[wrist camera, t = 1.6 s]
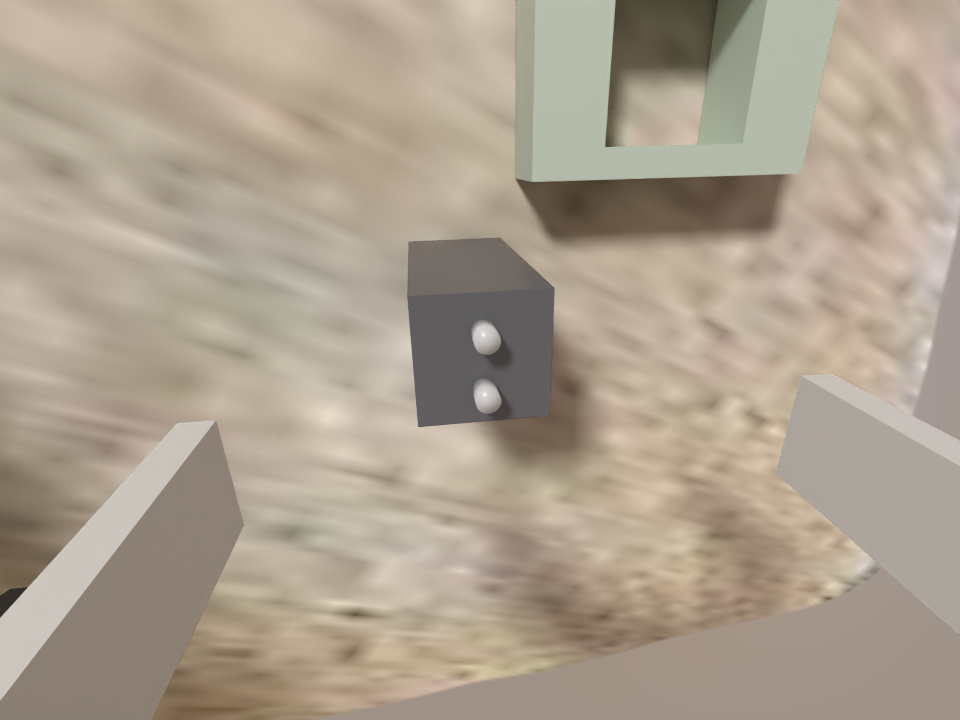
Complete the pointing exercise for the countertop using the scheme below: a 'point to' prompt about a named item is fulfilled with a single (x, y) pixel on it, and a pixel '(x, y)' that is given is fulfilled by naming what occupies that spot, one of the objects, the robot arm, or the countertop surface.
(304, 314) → the countertop surface
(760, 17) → the outlet plate
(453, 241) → the charger
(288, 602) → the countertop surface
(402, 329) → the countertop surface
